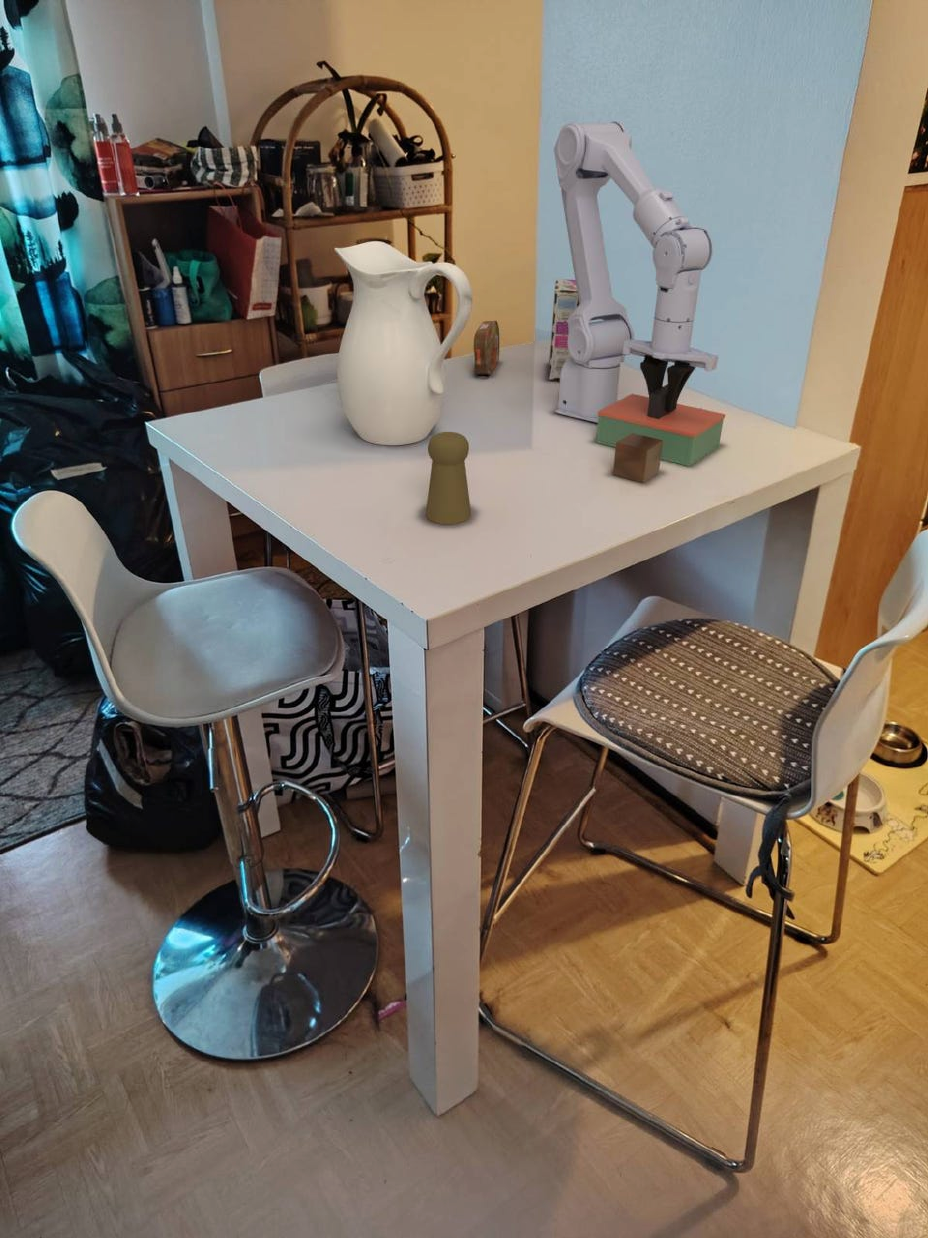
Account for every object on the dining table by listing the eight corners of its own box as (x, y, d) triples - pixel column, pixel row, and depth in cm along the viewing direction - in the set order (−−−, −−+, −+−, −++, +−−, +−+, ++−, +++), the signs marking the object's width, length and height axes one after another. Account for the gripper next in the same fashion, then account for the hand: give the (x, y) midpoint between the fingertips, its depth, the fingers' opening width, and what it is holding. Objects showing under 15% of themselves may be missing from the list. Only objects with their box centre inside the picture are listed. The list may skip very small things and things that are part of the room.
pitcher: (319, 434, 143) (304, 248, 128) (395, 409, 154) (390, 235, 139) (424, 475, 129) (421, 272, 115) (500, 444, 140) (506, 256, 125)
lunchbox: (595, 442, 141) (598, 414, 139) (629, 423, 149) (631, 397, 146) (689, 466, 133) (693, 437, 131) (719, 445, 141) (724, 417, 138)
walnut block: (612, 474, 130) (615, 442, 127) (628, 464, 134) (632, 432, 131) (643, 483, 128) (647, 450, 125) (659, 472, 131) (663, 440, 128)
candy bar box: (574, 382, 168) (581, 291, 159) (548, 381, 168) (553, 290, 160) (574, 365, 177) (581, 278, 169) (549, 364, 178) (554, 277, 169)
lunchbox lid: (597, 414, 139) (600, 388, 137) (631, 397, 146) (634, 371, 144) (694, 437, 131) (698, 410, 128) (725, 417, 138) (729, 391, 136)
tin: (487, 380, 168) (488, 335, 164) (470, 379, 169) (471, 334, 164) (500, 358, 181) (501, 316, 176) (485, 357, 181) (486, 315, 177)
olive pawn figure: (424, 505, 120) (423, 427, 115) (469, 504, 121) (470, 426, 115) (426, 525, 115) (425, 444, 109) (473, 523, 116) (474, 443, 110)
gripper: (617, 315, 132) (608, 405, 139) (709, 331, 124) (694, 425, 131) (639, 306, 136) (629, 393, 144) (729, 321, 129) (714, 412, 136)
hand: (662, 408), depth 138 cm, fingers closed on lunchbox lid, 2 cm apart
